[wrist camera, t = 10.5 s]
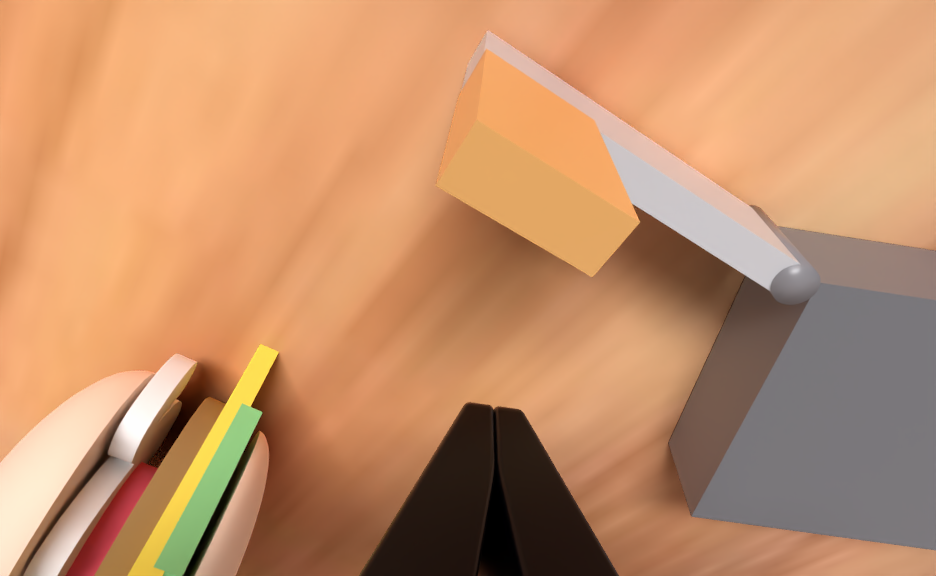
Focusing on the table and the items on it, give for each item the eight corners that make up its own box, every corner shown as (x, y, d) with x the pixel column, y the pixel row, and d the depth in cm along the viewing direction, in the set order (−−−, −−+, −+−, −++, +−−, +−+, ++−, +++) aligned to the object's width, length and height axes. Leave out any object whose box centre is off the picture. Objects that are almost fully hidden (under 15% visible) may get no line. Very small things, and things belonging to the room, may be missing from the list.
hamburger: (122, 279, 21) (-227, 609, 11) (332, 376, 23) (198, 732, 13) (62, 467, 27) (-204, 798, 17) (234, 533, 29) (88, 864, 19)
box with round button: (1186, 289, 19) (1338, 372, 16) (997, 489, 25) (1079, 584, 21) (769, 225, 19) (830, 295, 15) (668, 443, 24) (696, 532, 21)
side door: (745, 246, 19) (902, 459, 12) (466, 64, 17) (436, 185, 9) (774, 217, 19) (958, 421, 11) (489, 25, 16) (476, 119, 8)
